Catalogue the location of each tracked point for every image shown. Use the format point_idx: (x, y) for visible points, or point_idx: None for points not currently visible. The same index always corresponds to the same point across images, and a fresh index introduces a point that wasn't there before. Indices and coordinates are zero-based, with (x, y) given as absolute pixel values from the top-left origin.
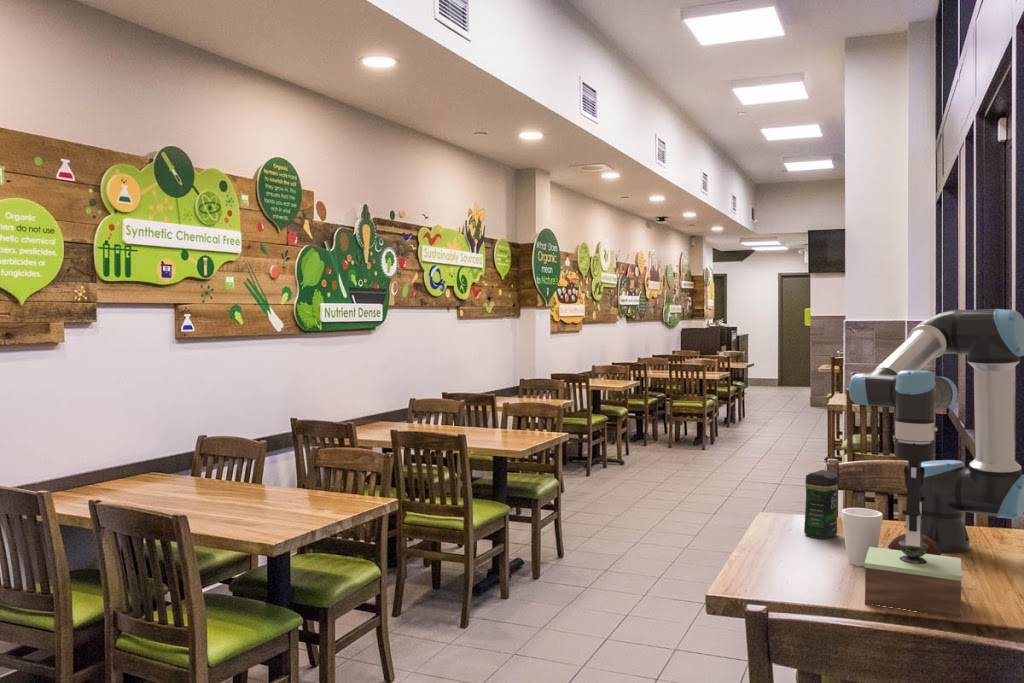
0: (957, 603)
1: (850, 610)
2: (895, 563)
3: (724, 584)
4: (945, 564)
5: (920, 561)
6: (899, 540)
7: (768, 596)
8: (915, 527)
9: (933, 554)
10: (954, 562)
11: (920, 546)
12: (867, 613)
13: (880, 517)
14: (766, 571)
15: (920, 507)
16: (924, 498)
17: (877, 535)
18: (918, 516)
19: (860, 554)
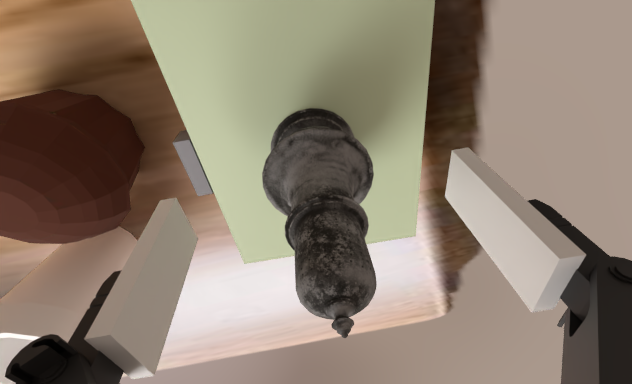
0: None
1: (434, 184)
2: (380, 181)
3: (395, 323)
4: (292, 40)
5: (339, 126)
6: (83, 229)
7: (420, 280)
8: (555, 218)
9: (46, 119)
10: (231, 9)
11: (352, 153)
12: (438, 157)
13: (12, 327)
14: (301, 314)
15: (128, 303)
16: (32, 360)
17: (59, 278)
18: (577, 259)
19: (127, 259)
